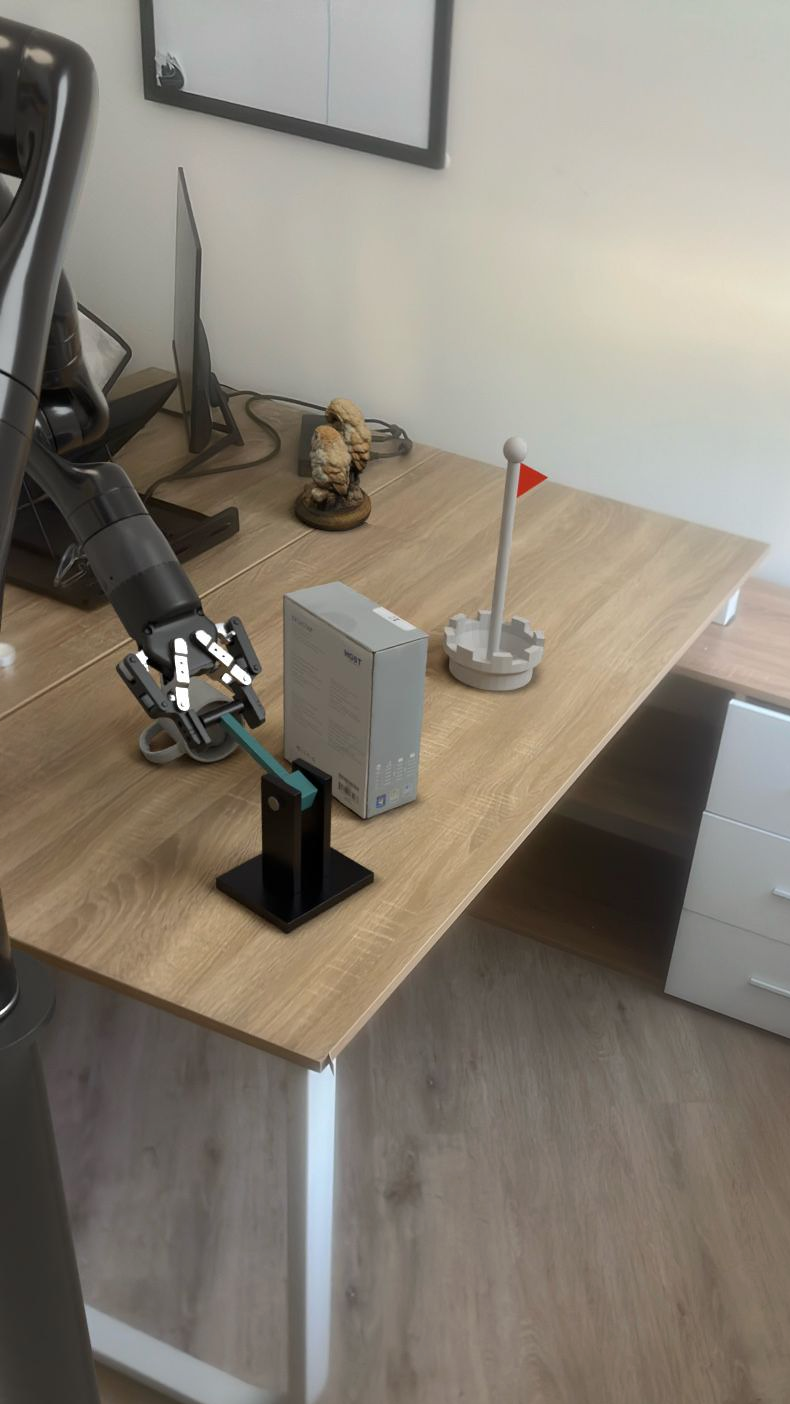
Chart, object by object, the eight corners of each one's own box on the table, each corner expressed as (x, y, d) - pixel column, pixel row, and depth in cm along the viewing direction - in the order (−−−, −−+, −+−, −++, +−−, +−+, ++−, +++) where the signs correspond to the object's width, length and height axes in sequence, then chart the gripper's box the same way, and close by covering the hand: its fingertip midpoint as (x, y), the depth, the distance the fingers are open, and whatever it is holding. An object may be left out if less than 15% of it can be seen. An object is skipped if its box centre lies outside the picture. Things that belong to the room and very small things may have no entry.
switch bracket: (215, 887, 125) (210, 777, 117) (303, 839, 133) (304, 733, 125) (287, 933, 121) (287, 823, 113) (373, 882, 129) (379, 774, 121)
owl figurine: (304, 484, 208) (305, 374, 197) (376, 493, 209) (381, 385, 198) (287, 526, 194) (287, 411, 183) (364, 536, 195) (369, 422, 184)
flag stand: (473, 701, 160) (499, 461, 141) (423, 655, 168) (440, 422, 149) (558, 684, 167) (594, 453, 147) (506, 641, 174) (533, 415, 155)
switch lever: (192, 726, 121) (197, 709, 120) (232, 709, 125) (237, 692, 123) (284, 820, 119) (290, 803, 118) (322, 800, 123) (328, 784, 121)
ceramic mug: (209, 720, 149) (206, 660, 144) (247, 752, 144) (244, 692, 139) (125, 745, 143) (119, 684, 138) (162, 779, 139) (157, 717, 134)
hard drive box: (419, 801, 142) (432, 636, 129) (364, 822, 137) (372, 653, 124) (334, 739, 149) (339, 577, 136) (279, 757, 145) (279, 592, 132)
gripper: (94, 580, 112) (192, 750, 115) (219, 541, 121) (306, 699, 124) (62, 614, 118) (156, 776, 120) (184, 575, 127) (269, 725, 130)
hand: (232, 736), depth 122 cm, fingers open, 6 cm apart
